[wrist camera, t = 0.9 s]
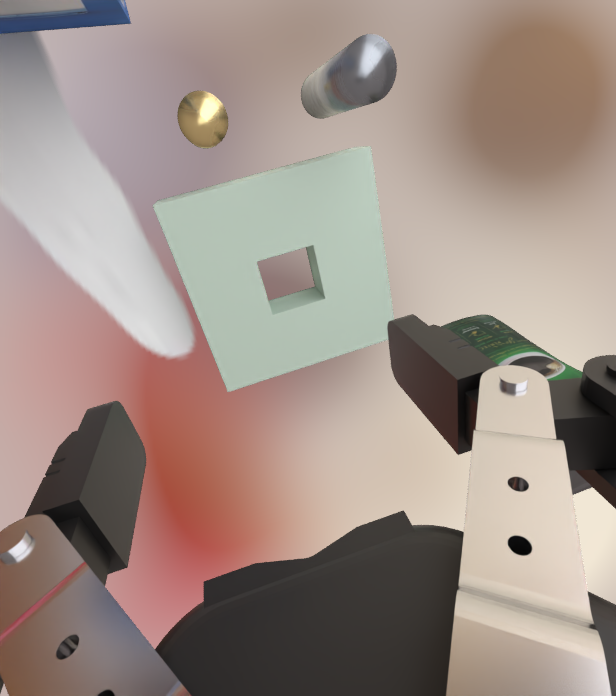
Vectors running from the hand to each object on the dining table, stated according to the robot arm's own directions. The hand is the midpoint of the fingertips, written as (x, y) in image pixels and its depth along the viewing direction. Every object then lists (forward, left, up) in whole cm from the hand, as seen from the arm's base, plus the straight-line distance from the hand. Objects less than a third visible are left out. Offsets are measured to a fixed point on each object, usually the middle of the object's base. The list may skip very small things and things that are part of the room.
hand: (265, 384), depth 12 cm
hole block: (+4, +4, -24) cm, 24 cm away
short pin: (-8, +1, -24) cm, 25 cm away
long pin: (-8, +10, -24) cm, 27 cm away
